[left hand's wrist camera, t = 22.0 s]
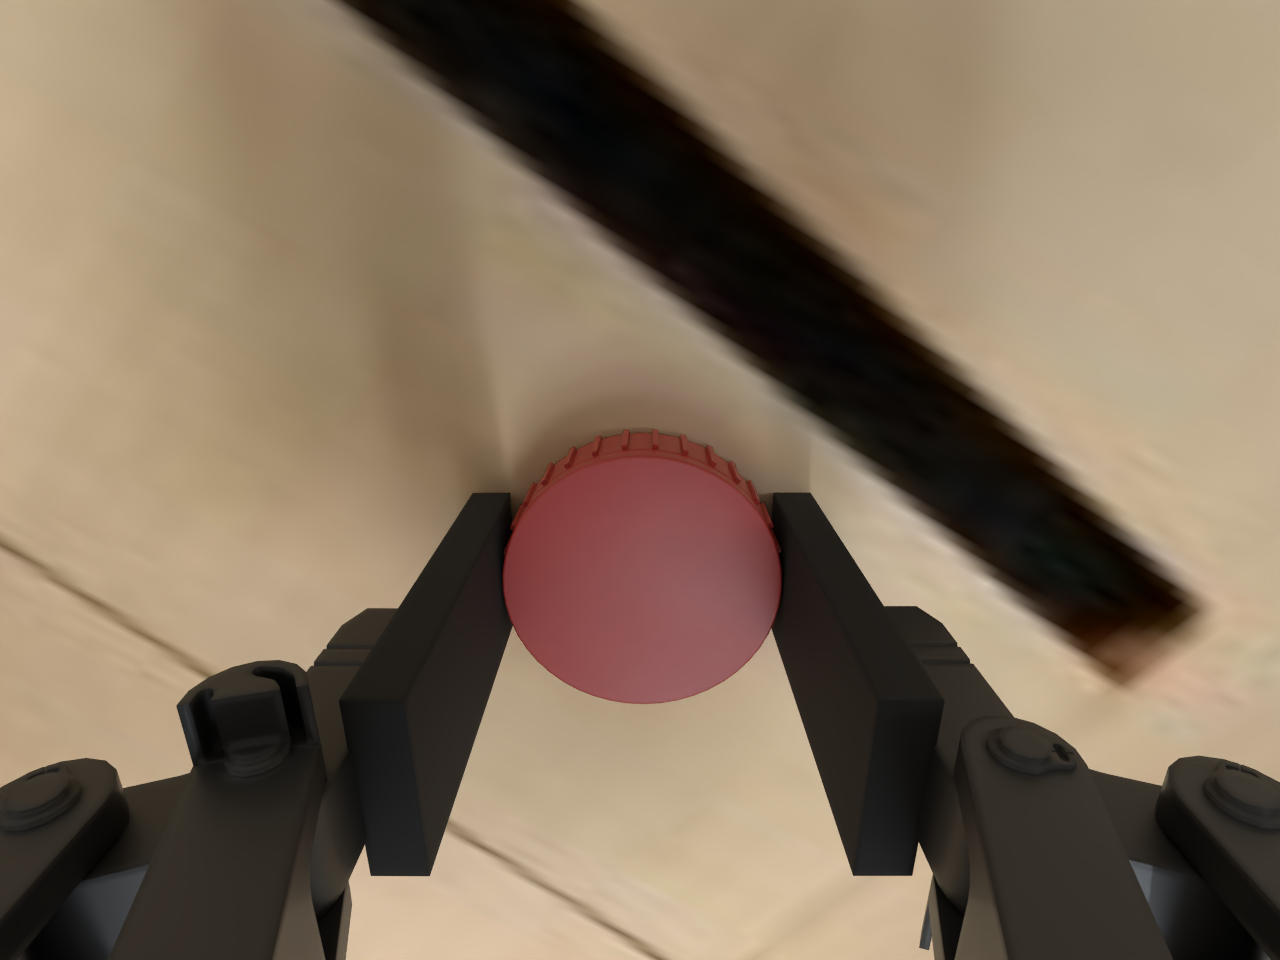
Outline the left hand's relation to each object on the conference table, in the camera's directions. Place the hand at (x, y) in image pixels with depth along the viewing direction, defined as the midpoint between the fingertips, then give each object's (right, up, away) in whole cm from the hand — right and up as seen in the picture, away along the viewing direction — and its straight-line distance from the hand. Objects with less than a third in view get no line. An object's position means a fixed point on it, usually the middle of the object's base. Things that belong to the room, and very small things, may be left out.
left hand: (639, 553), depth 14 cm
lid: (0, 0, -1) cm, 1 cm away
